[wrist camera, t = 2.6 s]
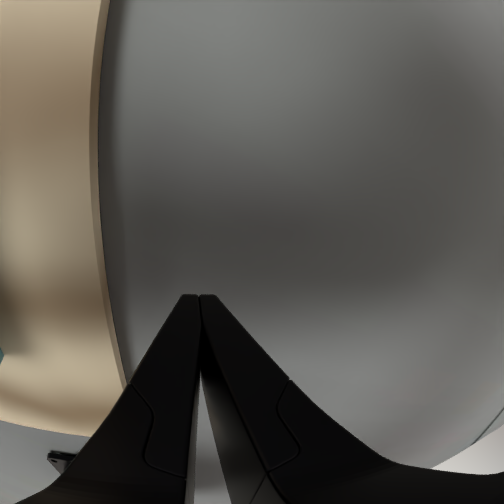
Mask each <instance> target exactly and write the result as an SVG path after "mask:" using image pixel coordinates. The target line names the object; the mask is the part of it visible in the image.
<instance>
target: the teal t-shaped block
mask: <svg viewBox="0 0 504 504" xmlns="http://www.w3.org/2000/svg"><path fill="white" fill-rule="evenodd" d="M3 357H4V354H3V352H2V350H1V348H0V364H1V362H2V360H3Z"/></svg>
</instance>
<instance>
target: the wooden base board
mask: <svg viewBox="0 0 504 504" xmlns="http://www.w3.org/2000/svg"><path fill="white" fill-rule="evenodd" d="M109 4H110V0H0V348H1V350H2V352H3V354H4V357H3V360H2V362H1V364H0V420H2V421H6V422H10V423H14V424H19V425H23V426H28V427H33V428H38V429H43V430H48V431H54V432H60V433H66V434H73V435H81V436H89V437H91V436H92V435H93V434H94V433H95V431H96V430H97V429H98V427H99V426H100V425H101V423H102V422H103V421H104V419H105V418H106V417H107V415H108V414H109V413H110V411H111V409H112V408H113V406H114V405H115V403H116V402H117V400H118V398H119V397H120V395H121V394H122V392H123V390H124V388H125V387H126V385H127V383H126V379H125V375H124V370H123V366H122V362H121V357H120V352H119V348H118V343H117V338H116V333H115V327H114V322H113V316H112V310H111V304H110V298H109V291H108V284H107V277H106V269H105V261H104V252H103V243H102V232H101V220H100V205H99V185H98V109H99V90H100V76H101V64H102V54H103V45H104V37H105V30H106V23H107V16H108V10H109Z"/></svg>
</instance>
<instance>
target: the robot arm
mask: <svg viewBox="0 0 504 504" xmlns="http://www.w3.org/2000/svg"><path fill="white" fill-rule="evenodd" d="M200 374H201V381H202V386H203V391H204V396H205V400H206V405H207V409H208V414H209V418H210V422H211V427H212V431H213V435H214V439H215V443H216V447H217V451H218V455H219V459H220V463H221V467H222V471H223V474H224V478H225V482H226V485H227V489H228V493H229V496H230V500H231V503H232V504H504V472H501V473H498V474H489V475H476V474H465V473H456V472H448V471H440V470H433V469H426V468H420V467H414V466H408V465H403V464H399V463H396V462H393V461H391V460H389V459H387V458H385V457H383V456H381V455H379V454H378V453H376V452H375V451H373V450H372V449H371V448H369V447H368V446H367V445H365V444H364V443H363V442H361V441H360V440H359V439H358V438H356V437H355V436H354V435H352V434H351V433H350V432H349V431H347V430H346V429H345V428H343V427H342V426H341V425H340V424H338V423H337V422H336V421H335V420H333V419H332V418H331V417H330V416H329V415H327V414H326V413H325V412H324V411H323V410H322V409H320V408H319V407H318V406H317V405H316V404H315V403H314V402H313V401H312V400H311V399H310V398H309V397H308V396H307V395H306V394H305V393H304V392H303V391H302V390H301V389H300V388H299V387H298V386H297V385H296V384H295V383H294V382H293V381H292V380H289V377H288V376H287V375H286V374H285V372H284V371H283V370H282V369H281V368H280V367H279V366H278V365H277V364H276V363H275V362H274V361H273V359H272V358H271V357H270V356H269V355H268V354H267V353H266V352H265V351H264V350H263V348H262V347H261V346H260V345H259V344H258V343H257V342H256V341H255V340H254V338H253V337H252V336H251V335H250V334H249V333H248V332H247V331H246V329H245V328H244V327H243V326H242V325H241V324H240V323H239V321H238V320H237V319H236V318H235V317H234V316H233V315H232V313H231V312H230V311H229V310H228V309H227V308H226V307H225V305H224V304H223V303H222V302H221V301H220V300H219V298H218V297H217V296H216V295H213V294H201V295H200V296H198V295H197V294H183V295H182V296H181V297H180V299H179V300H178V302H177V303H176V305H175V307H174V308H173V310H172V311H171V313H170V315H169V316H168V318H167V319H166V321H165V323H164V324H163V326H162V327H161V329H160V331H159V332H158V334H157V336H156V337H155V339H154V340H153V342H152V344H151V345H150V347H149V349H148V350H147V352H146V354H145V355H144V357H143V359H142V360H141V362H140V364H139V365H138V367H137V369H136V370H135V372H134V374H133V375H132V377H131V379H130V380H129V384H127V385H126V387H125V388H124V390H123V392H122V394H121V395H120V397H119V398H118V400H117V402H116V403H115V405H114V406H113V408H112V409H111V411H110V413H109V414H108V415H107V417H106V418H105V419H104V421H103V422H102V423H101V425H100V426H99V427H98V429H97V430H96V431H95V433H94V434H93V435H92V436H91V438H90V439H89V440H88V442H87V443H86V444H85V445H84V447H83V448H82V449H81V450H80V452H79V453H78V454H77V455H76V457H72V456H65V455H60V454H54V453H48V456H47V460H48V461H49V462H50V463H51V464H52V465H53V466H54V467H55V468H56V470H57V471H58V472H59V473H60V474H61V475H60V476H59V477H58V478H57V479H56V480H55V481H54V482H53V483H52V484H51V485H49V486H48V487H47V488H45V489H44V490H42V491H40V492H38V493H36V494H34V495H32V496H30V497H28V498H26V499H24V500H21V501H19V502H17V503H15V504H194V485H195V460H196V439H197V421H198V405H199V390H200Z"/></svg>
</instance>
